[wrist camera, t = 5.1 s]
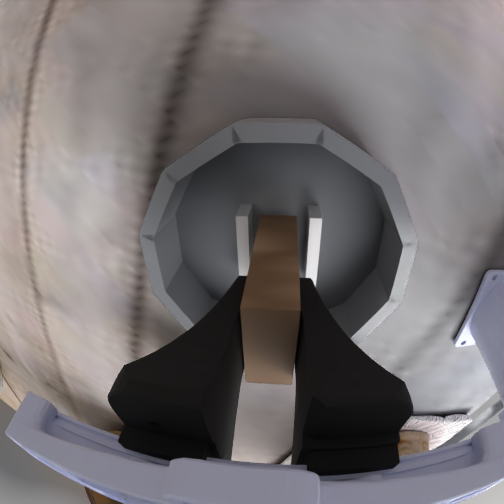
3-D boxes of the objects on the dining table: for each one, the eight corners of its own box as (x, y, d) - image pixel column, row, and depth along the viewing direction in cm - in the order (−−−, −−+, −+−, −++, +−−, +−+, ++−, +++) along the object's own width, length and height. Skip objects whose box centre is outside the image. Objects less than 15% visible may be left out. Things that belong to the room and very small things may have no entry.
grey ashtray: (402, 127, 13) (435, 138, 10) (368, 320, 20) (378, 362, 16) (158, 125, 15) (122, 135, 11) (187, 313, 21) (170, 352, 18)
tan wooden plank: (296, 215, 14) (300, 310, 8) (293, 280, 16) (291, 384, 10) (260, 214, 15) (240, 307, 9) (261, 279, 17) (245, 382, 11)
